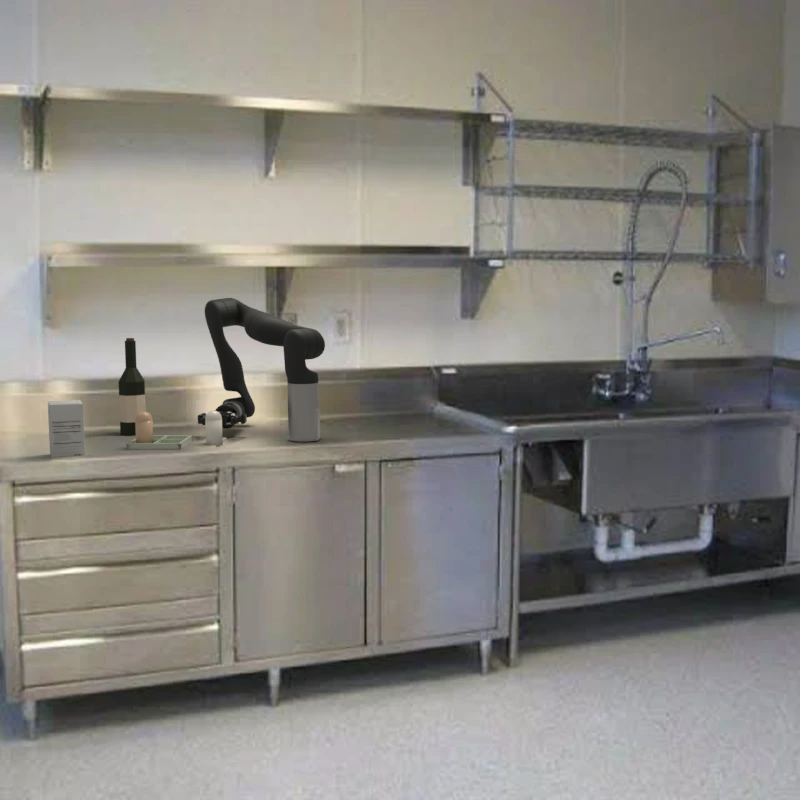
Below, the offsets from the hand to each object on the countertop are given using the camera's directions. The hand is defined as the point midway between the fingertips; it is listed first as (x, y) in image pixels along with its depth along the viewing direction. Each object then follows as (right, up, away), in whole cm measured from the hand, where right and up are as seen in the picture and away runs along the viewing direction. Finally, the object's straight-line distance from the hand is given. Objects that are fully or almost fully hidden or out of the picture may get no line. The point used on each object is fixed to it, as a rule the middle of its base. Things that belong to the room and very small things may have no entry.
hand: (217, 421), depth 308 cm
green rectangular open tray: (-15, -7, -8) cm, 18 cm away
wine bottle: (-30, -4, +18) cm, 35 cm away
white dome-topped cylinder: (0, -7, -5) cm, 8 cm away
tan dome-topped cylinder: (-19, -7, -11) cm, 23 cm away
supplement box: (-38, -9, -22) cm, 44 cm away
